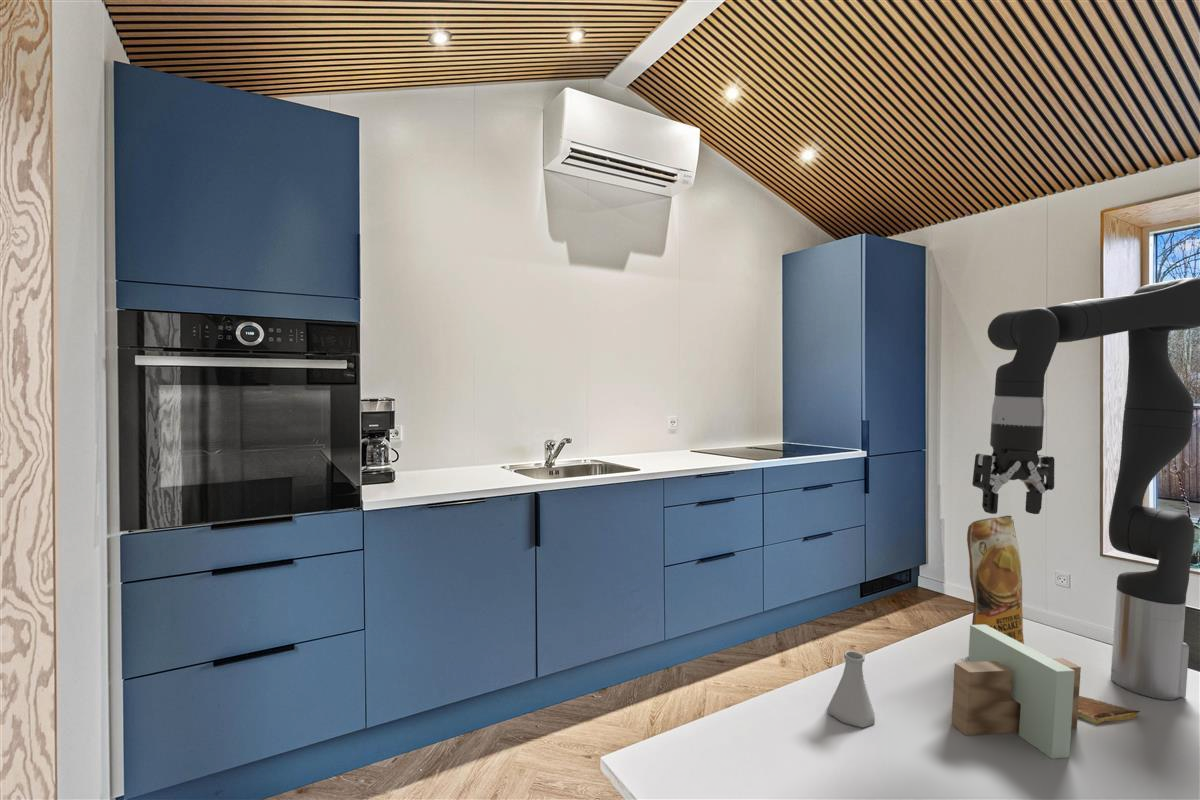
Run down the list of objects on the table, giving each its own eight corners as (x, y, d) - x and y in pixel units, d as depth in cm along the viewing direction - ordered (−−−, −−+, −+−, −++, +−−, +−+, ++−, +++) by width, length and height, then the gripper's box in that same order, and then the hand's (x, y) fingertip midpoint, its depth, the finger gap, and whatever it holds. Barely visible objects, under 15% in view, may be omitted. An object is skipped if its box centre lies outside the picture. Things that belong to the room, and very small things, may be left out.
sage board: (1069, 757, 84) (1074, 670, 84) (1051, 758, 84) (1057, 671, 84) (981, 697, 100) (985, 624, 100) (966, 698, 100) (970, 624, 99)
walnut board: (1059, 717, 95) (1063, 658, 95) (1076, 728, 92) (1080, 667, 92) (951, 724, 92) (954, 662, 92) (965, 735, 89) (969, 672, 89)
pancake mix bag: (946, 655, 116) (954, 518, 115) (1003, 640, 124) (1011, 512, 123) (981, 671, 110) (989, 526, 109) (1038, 654, 118) (1046, 519, 117)
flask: (882, 715, 94) (885, 655, 93) (866, 734, 88) (870, 670, 88) (837, 697, 99) (840, 640, 98) (820, 714, 93) (823, 654, 93)
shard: (1139, 720, 96) (1140, 709, 96) (1151, 743, 90) (1152, 731, 90) (1057, 698, 102) (1058, 688, 102) (1062, 718, 96) (1063, 707, 96)
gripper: (999, 423, 97) (993, 518, 97) (1072, 425, 99) (1066, 518, 99) (964, 419, 104) (959, 508, 105) (1033, 421, 106) (1027, 508, 107)
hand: (1011, 513), depth 102 cm, fingers open, 8 cm apart
